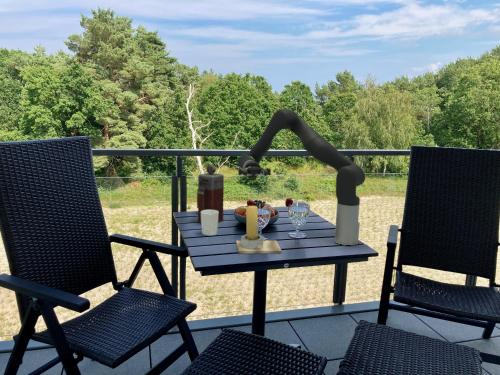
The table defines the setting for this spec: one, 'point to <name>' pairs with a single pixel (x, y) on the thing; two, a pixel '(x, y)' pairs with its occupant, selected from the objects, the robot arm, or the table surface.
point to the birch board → (268, 247)
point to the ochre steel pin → (252, 222)
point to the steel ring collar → (252, 242)
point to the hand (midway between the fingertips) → (256, 173)
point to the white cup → (209, 222)
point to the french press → (210, 192)
